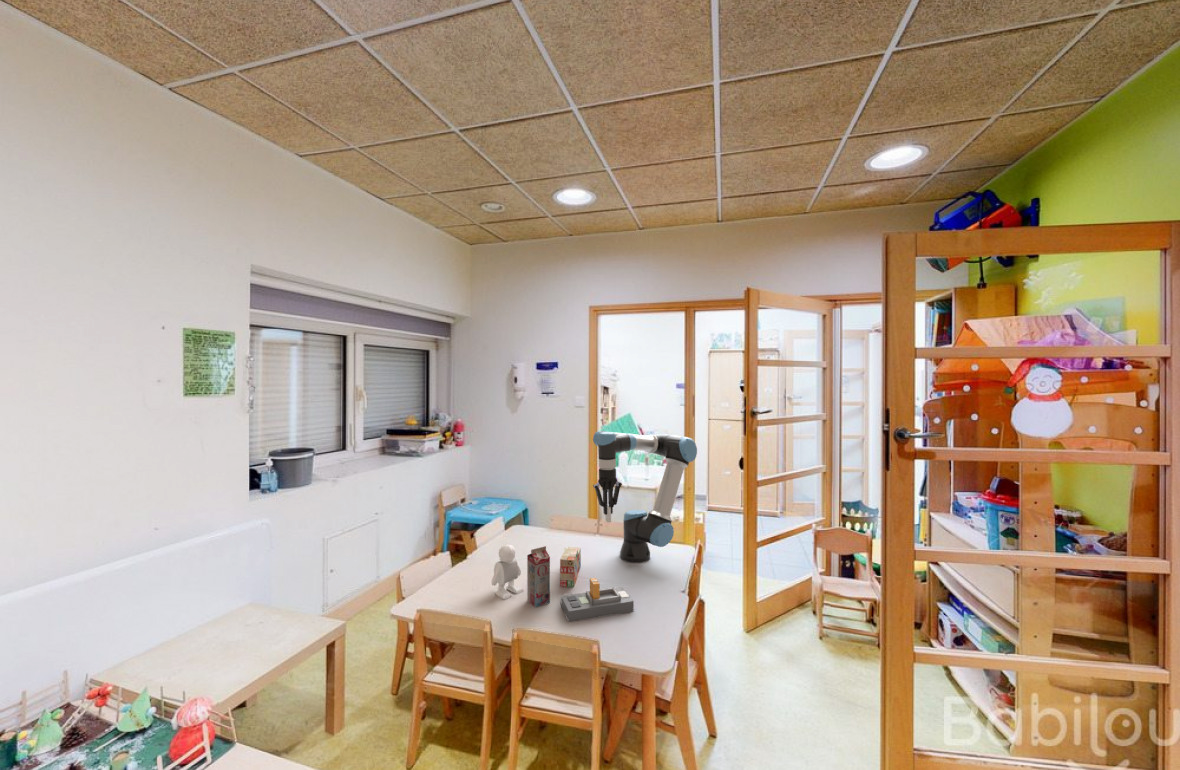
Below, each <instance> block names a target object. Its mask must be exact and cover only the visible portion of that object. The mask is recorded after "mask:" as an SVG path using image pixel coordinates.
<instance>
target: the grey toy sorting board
mask: <svg viewBox="0 0 1180 770" xmlns="http://www.w3.org/2000/svg"><path fill="white" fill-rule="evenodd" d="M560 597H561V598H560V601H561V603H560V605H561V608H562V610H563V612H564V615H565V617H566V619H567V621H568V623H571V622H576V621H582V620H588V619H595V618H600V617H606V616H613V615H614V616H615V615H618V614H626V613H631V612H634V607H635V605H634V602H635V601H634V600H633V598H632V597H631V596H630V595H629V594H628V592H627V591H626V590H625V588H624V587H607V588H600V598H598V599H593V598H592V597H591V595H590V590H586V591H585V592H579V593H573V594H566V595H561V596H560Z"/></svg>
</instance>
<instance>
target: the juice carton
mask: <svg viewBox="0 0 1180 770" xmlns="http://www.w3.org/2000/svg"><path fill="white" fill-rule="evenodd" d="M526 561H527V563H526V564H527V565H526V566H527V567H526V569H527V570H526V571H527V579H526V582H527V585H526V592H527V593H526V594H527V595H526V597H527V598H526V601H527V602H528V603H530V605H531V606H533V607H534V608H537V607H540V606H543V605H547V604H549V603H550V602H551V598H550V597H551V592H550V591H551V584H550V583H551V582H550V581H551V556H550V554H549V553H548V551H547V545H546V546H544V545H543V546H541V547H537V548H534V549H531V551H530V553H528V554H527V558H526Z"/></svg>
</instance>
